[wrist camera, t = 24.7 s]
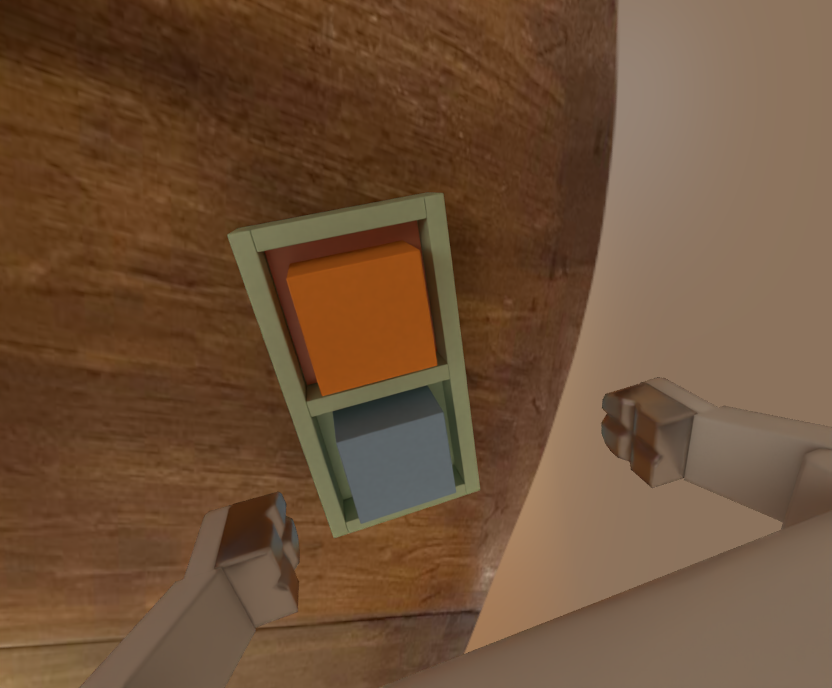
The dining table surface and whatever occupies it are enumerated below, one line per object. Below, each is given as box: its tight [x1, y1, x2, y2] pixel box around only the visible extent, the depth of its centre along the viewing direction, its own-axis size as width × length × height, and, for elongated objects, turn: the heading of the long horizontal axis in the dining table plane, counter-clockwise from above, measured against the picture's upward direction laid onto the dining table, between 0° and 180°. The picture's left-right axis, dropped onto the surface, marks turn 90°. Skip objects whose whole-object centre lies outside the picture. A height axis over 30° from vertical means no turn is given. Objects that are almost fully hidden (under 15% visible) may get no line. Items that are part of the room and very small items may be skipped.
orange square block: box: [286, 240, 437, 396], centre depth 20 cm, size 6×6×4 cm
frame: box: [228, 192, 480, 538], centre depth 23 cm, size 10×19×3 cm, turn 9°
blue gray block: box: [332, 385, 456, 524], centre depth 24 cm, size 6×6×4 cm
